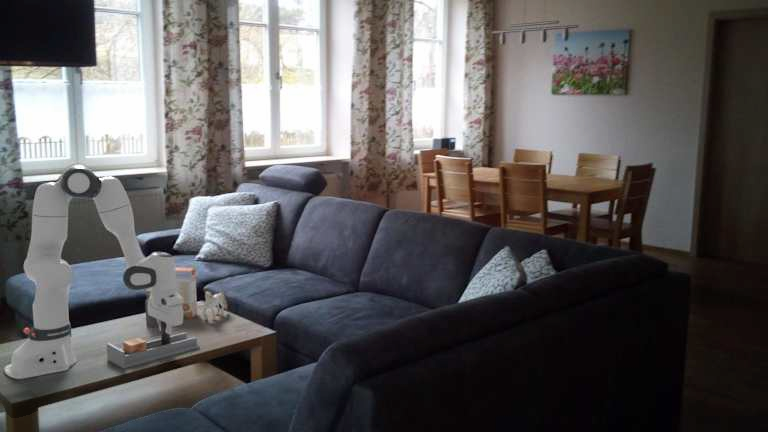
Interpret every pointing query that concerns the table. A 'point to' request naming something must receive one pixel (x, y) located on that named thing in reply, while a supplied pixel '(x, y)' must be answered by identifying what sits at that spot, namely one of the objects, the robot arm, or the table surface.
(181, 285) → the cracker box
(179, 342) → the board
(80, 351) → the table surface
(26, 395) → the table surface
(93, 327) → the table surface
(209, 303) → the unicorn figurine
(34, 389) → the table surface
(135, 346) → the block and post stand
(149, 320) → the bottle
